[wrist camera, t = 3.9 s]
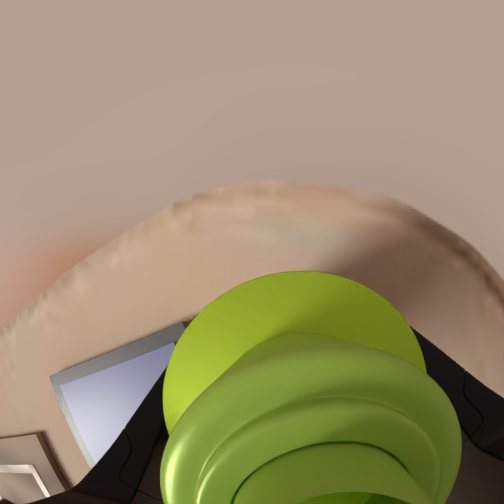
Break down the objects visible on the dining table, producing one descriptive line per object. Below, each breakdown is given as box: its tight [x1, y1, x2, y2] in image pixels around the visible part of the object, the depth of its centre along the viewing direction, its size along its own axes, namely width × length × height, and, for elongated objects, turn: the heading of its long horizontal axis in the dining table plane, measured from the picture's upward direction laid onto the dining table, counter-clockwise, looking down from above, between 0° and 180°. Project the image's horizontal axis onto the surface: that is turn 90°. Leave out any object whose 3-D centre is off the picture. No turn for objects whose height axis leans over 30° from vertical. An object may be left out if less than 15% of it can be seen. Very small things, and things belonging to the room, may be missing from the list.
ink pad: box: [49, 322, 188, 469], centre depth 18 cm, size 13×13×1 cm
